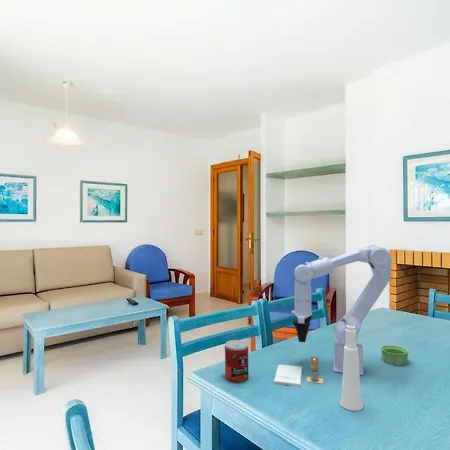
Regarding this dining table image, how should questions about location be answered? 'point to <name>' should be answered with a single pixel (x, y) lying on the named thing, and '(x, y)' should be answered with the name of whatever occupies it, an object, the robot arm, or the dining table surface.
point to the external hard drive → (288, 375)
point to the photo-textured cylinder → (314, 369)
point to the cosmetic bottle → (351, 373)
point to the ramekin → (394, 354)
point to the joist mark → (313, 381)
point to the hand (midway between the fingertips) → (303, 338)
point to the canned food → (236, 360)
